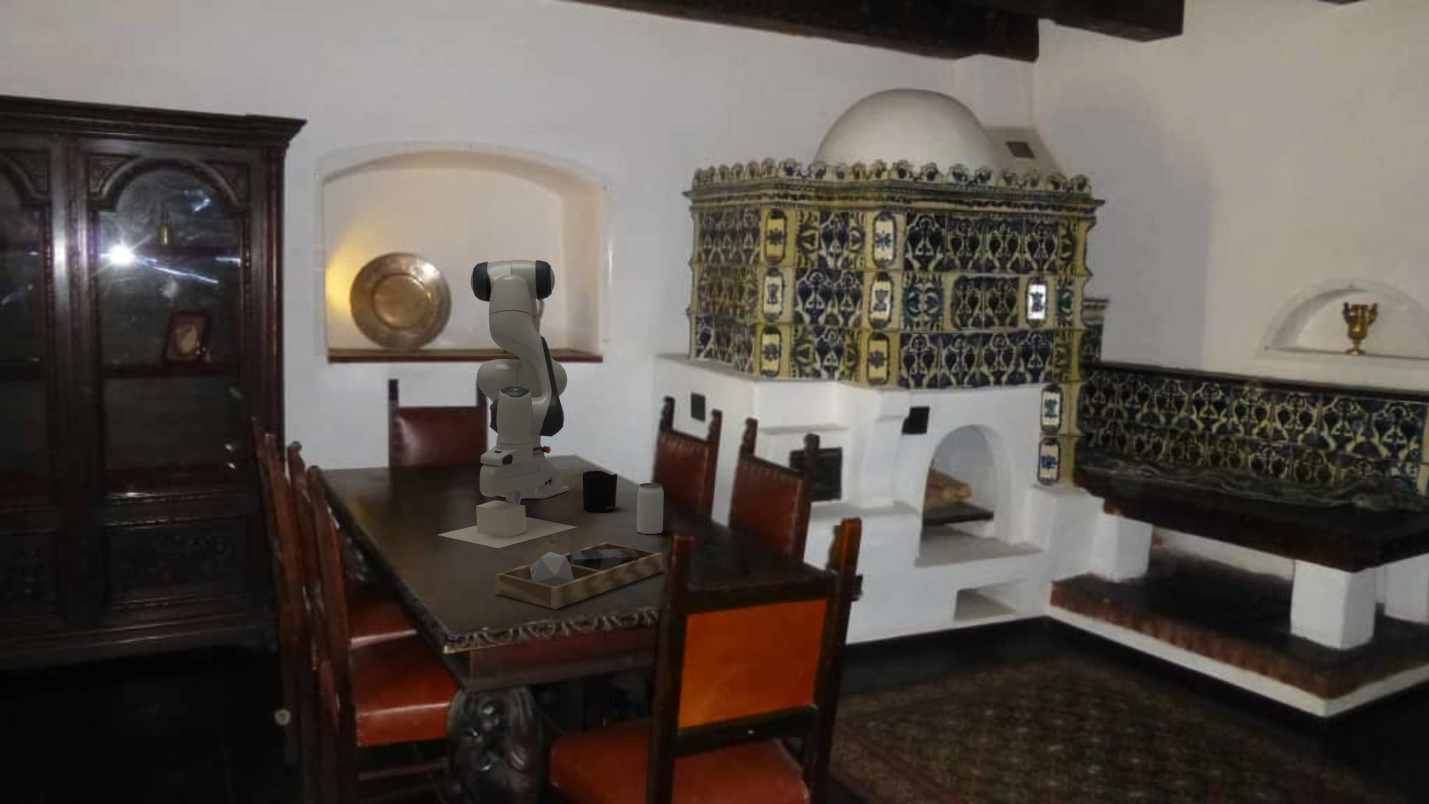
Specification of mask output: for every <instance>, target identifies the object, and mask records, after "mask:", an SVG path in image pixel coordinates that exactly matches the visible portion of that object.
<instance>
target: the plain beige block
mask: <svg viewBox="0 0 1429 804" xmlns="http://www.w3.org/2000/svg"><path fill="white" fill-rule="evenodd" d="M475 507H476V508H475V512H476V525H477V532H481V533H485V534H490V535H495V536H499V537H504V538H509V537H512V536H515V535H518V534H520V533H523V532H526V517H527V516H526V515H527V514H526V505H524V504H520V505H519V504H514V503H508V501H503V500H497V499H495V500H491V501H488V502H484V503H482V504H479V505H478V504H477V505H475Z"/></svg>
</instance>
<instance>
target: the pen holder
mask: <svg viewBox="0 0 1429 804" xmlns="http://www.w3.org/2000/svg"><path fill="white" fill-rule="evenodd" d="M617 485H618V473H614V474H610V473H608V472H606V471H604V470H588V471H585V472H582V502H583V503H582V504H583V505H582V507H583V508H582V509H583V510H584V511H585V512H588V513H589V512H590V513H594V514H599V513H601V514H604V513H605V514H606V513H611V512H614V511H615V510H616V503H617Z"/></svg>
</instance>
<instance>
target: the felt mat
mask: <svg viewBox="0 0 1429 804" xmlns="http://www.w3.org/2000/svg"><path fill="white" fill-rule="evenodd" d="M575 528H577V526H574V525H569V524H564V523H559V522H553V521H547V520H543V519H538V518H534V517H529V516H528V517H527V516H526V532H523V533H520V534H518V535H515V536H512V537H509V538H504V537H499V536H495V535H490V534H485V533H481V532H477V524H476V525H473V526H469V527H464V528H460V529H456V530H451V531H447V532H443V533H439V534H437V536H440V537H445V538H448V539H449V538H450V539H454V540H458V541H462V542H463V541H464V542H467V543H472V544H476V545H481V546H486V547H489V548H495V549H501V548H505V547H507V546H512V545H516V544H520V543H522V542H523V543H524V542H527V541H530V540H536V539H537V538H542V537H545V536H549V535H552V534H557V533H561V532H565V531H568V530H572V529H575Z"/></svg>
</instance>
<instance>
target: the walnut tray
mask: <svg viewBox="0 0 1429 804" xmlns="http://www.w3.org/2000/svg"><path fill="white" fill-rule="evenodd" d="M592 548H593V549H595V550H605V549H622V548H632V549H633V550H634V551H635V552H636V554H637V555H638V560H636V561H631V562H628V563H625V564H622V565H618V566H615V567H612V568H609V569H606V570H603V571H602V570H597V569H592V568H588V567H583V566H579V565H574V564H570V551H569V552H566V553H562V554H561V555H563V556H566V558H567V560H568V562H569V564H570V567H571V570H572V574H573V578H574V580H573V581H570V582H567V583H563V584H560V585H557V586H553V585H549V584H545V583H540V582H536V581H532V577H531V572H530V567H531V566H532V565H533V564H534V563H535V562H531V563H528V564H525V565H521V566H519V567H515V568H511V569H508V570H505V571H502V572H498V573H495V574H494V575H495V576H494V578H495V579H494V580H495V581H494V583H495V584H494V594H495V595H498V596H503V597H507V598H510V599H514V600H519V601H523V602H525V603H526V602H528V603H530V604H534V605H539V606H542V607H546V608H551V609H554V610H558V609H560V608H563V607H565V606H568V605H572V604H575V603H578V602H579V601H580V602H581V601H583V600H585V599H588V598H591V597H594V596H596V595H597V596H598V595H599V594H602V593H605V592H608V591H612V590H614V589H617V588H620V587H622V586H624V585H628V584H631V583H633V582H636V581H639V580H642V579H644V578H648V577H651V576H653V575H657V574H659V573H662V572H663V561H664V560H663V558H664V554H663V552H659V551H653V550H648V549H643V548H638V547H633V546H628V545H623V544H619V543H613V542H608V541H603V542H600V543H597V544H593V545H590V546H587V547H583V548H580V549H576V550H575V551H578V550H591V549H592Z"/></svg>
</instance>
